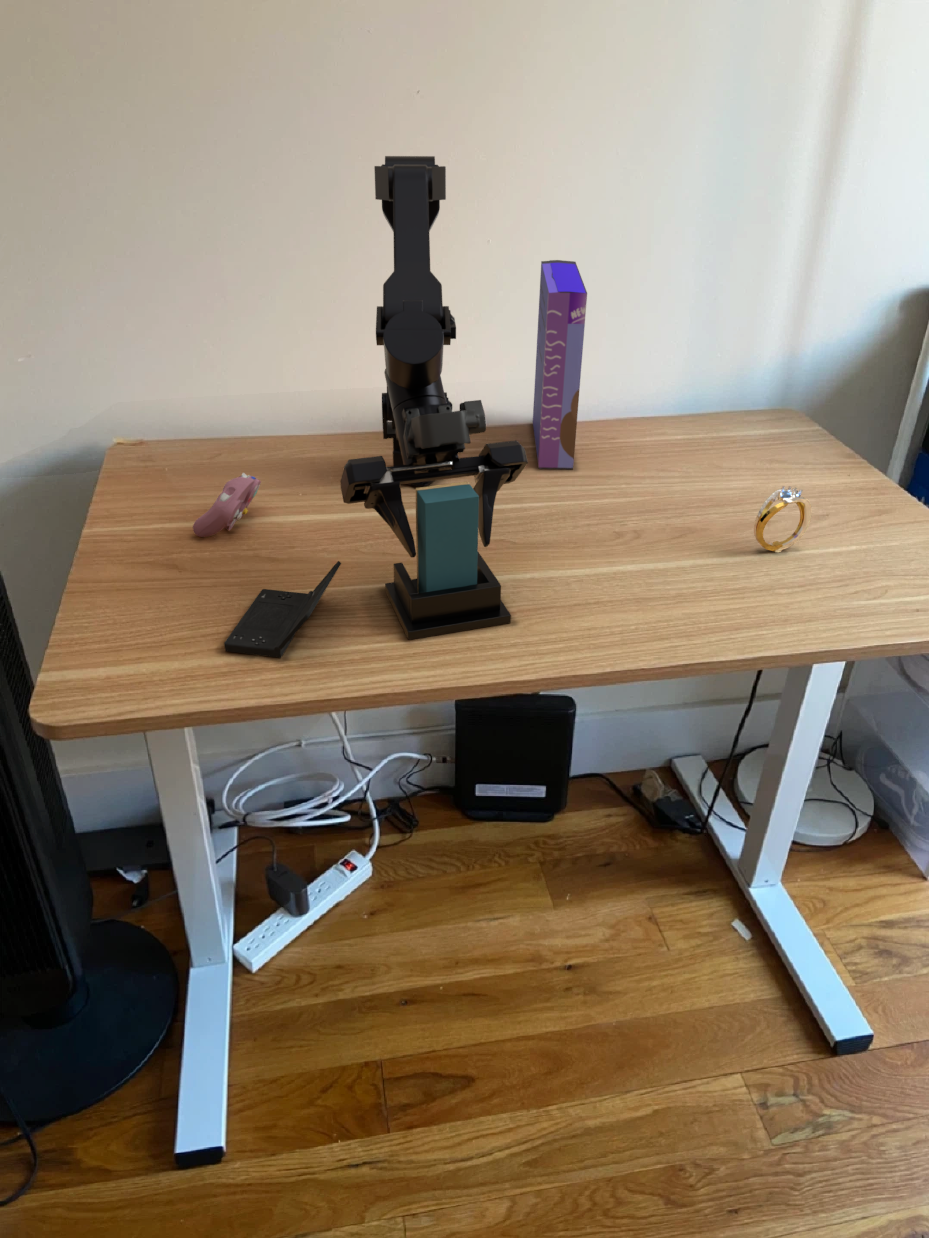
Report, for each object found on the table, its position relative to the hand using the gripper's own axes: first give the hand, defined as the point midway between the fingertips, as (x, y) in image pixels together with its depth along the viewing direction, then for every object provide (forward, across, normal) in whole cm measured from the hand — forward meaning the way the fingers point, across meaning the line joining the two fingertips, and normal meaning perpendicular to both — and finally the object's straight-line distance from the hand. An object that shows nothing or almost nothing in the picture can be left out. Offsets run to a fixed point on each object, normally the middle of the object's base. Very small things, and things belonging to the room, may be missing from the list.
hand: (450, 550), depth 96 cm
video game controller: (-14, -20, +25) cm, 35 cm away
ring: (+4, +41, +7) cm, 42 cm away
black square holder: (+4, 0, +6) cm, 8 cm away
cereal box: (-22, +28, +33) cm, 49 cm away
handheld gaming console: (+4, -17, +7) cm, 19 cm away
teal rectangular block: (+4, 0, +6) cm, 7 cm away
